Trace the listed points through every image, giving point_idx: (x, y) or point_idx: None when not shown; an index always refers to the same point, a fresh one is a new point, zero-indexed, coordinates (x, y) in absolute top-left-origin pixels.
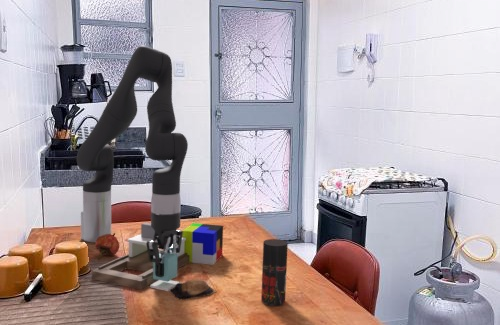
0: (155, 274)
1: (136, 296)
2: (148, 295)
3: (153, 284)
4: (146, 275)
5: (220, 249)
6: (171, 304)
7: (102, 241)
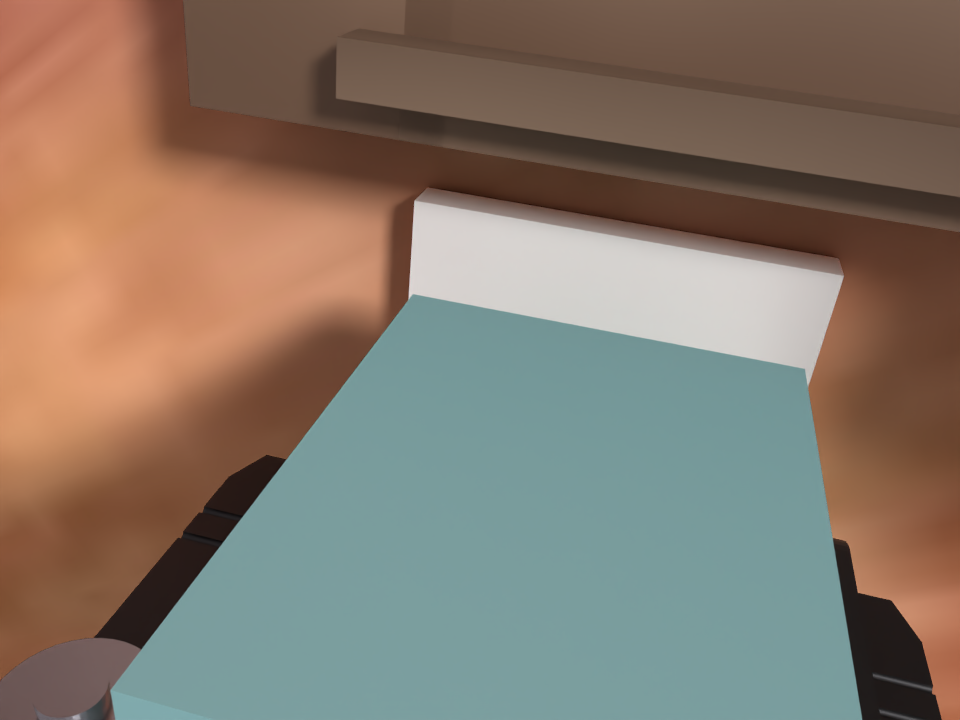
0: (257, 461)
1: (27, 142)
2: (152, 297)
3: (468, 246)
4: (444, 109)
5: None
6: (102, 623)
7: None
